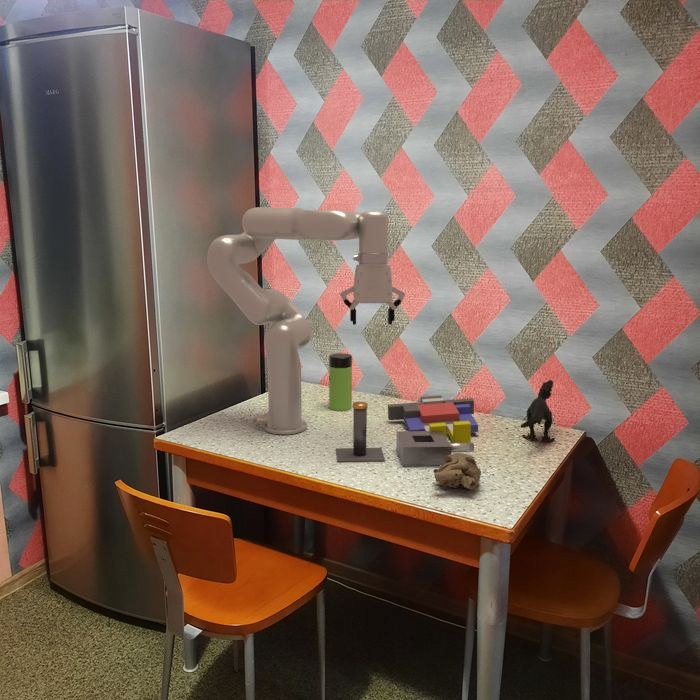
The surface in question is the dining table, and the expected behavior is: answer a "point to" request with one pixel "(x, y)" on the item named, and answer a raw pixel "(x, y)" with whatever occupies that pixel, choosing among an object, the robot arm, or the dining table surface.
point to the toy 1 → (438, 416)
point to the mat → (370, 456)
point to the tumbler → (340, 381)
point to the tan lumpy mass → (458, 471)
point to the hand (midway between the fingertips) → (372, 323)
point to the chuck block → (426, 448)
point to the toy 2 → (540, 413)
